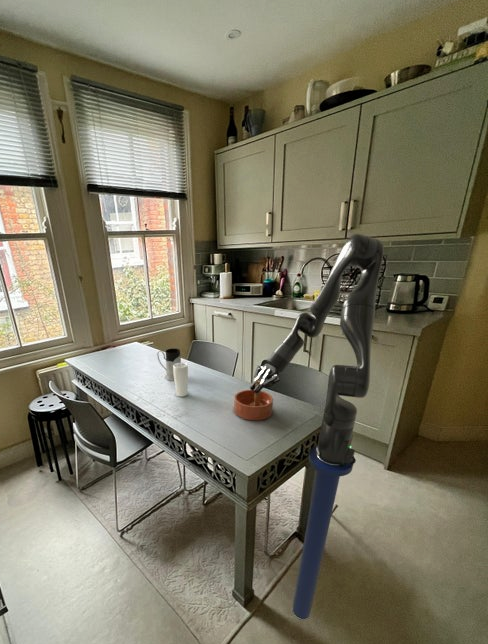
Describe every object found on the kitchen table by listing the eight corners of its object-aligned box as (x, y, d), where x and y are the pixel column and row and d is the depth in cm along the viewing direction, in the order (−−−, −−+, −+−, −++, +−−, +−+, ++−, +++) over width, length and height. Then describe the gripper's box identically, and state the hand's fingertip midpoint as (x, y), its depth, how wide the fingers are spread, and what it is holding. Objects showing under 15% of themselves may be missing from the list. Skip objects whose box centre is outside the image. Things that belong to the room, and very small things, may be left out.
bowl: (277, 409, 134) (279, 395, 132) (261, 425, 124) (262, 411, 121) (245, 399, 143) (246, 386, 141) (227, 413, 133) (227, 400, 130)
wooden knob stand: (264, 410, 132) (267, 379, 126) (259, 415, 128) (261, 384, 122) (253, 406, 135) (255, 376, 129) (247, 411, 131) (249, 381, 125)
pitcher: (176, 381, 164) (175, 354, 157) (154, 377, 170) (152, 350, 164) (185, 375, 170) (184, 349, 164) (163, 371, 177) (161, 345, 171)
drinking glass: (175, 391, 154) (174, 362, 147) (189, 391, 153) (188, 362, 146) (173, 397, 148) (171, 367, 141) (187, 398, 147) (186, 368, 140)
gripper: (297, 368, 122) (268, 402, 123) (275, 357, 133) (249, 388, 135) (287, 357, 118) (257, 393, 119) (266, 347, 129) (238, 379, 131)
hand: (253, 390), depth 127 cm, fingers closed on wooden knob stand
